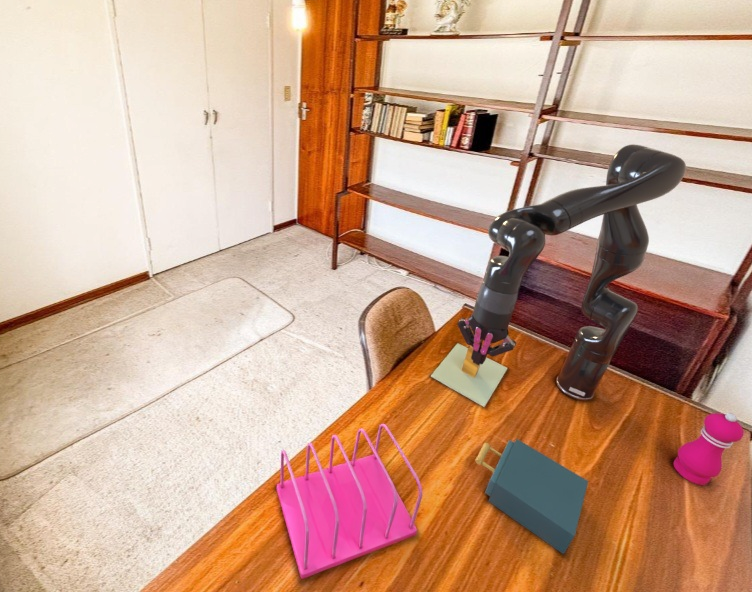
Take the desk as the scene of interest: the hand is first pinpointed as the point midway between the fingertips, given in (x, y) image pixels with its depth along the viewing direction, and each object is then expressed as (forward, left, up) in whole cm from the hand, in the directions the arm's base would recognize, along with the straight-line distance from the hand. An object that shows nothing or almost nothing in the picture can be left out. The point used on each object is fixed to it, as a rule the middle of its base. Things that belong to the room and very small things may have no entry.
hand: (476, 362), depth 94 cm
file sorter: (+37, -9, -23) cm, 45 cm away
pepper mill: (-28, +46, -23) cm, 59 cm away
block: (-22, -5, -22) cm, 32 cm away
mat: (-22, -5, -23) cm, 32 cm away
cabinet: (+6, +20, -23) cm, 31 cm away
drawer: (+6, +16, -22) cm, 28 cm away
